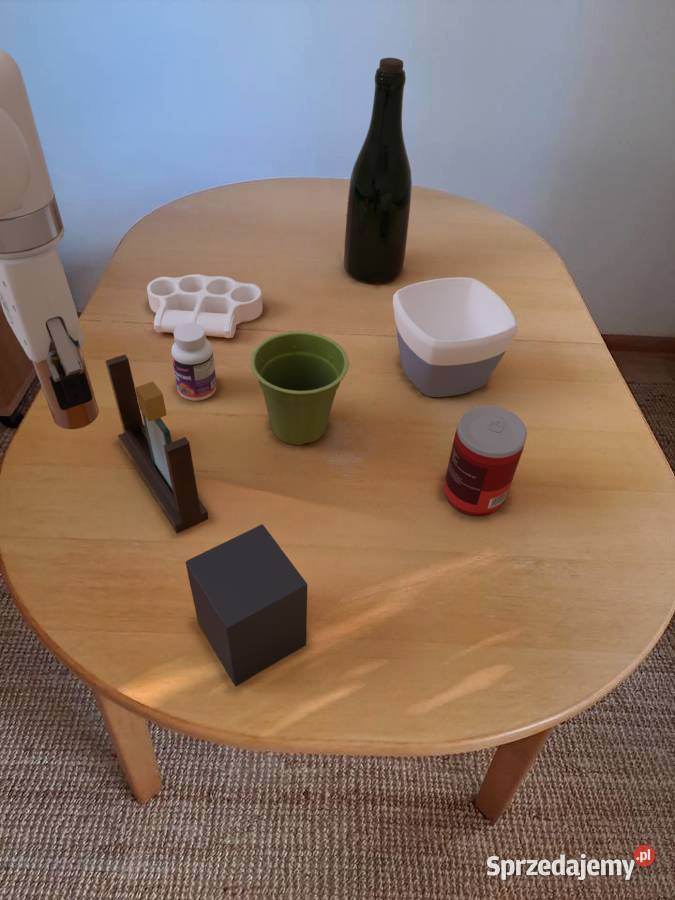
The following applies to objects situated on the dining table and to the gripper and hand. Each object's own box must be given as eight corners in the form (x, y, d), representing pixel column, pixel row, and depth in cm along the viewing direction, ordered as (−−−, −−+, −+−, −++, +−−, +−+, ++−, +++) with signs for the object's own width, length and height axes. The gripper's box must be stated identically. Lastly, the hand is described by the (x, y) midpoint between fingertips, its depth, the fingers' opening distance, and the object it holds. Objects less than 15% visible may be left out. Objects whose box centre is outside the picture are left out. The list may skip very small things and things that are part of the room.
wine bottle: (407, 260, 120) (434, 53, 96) (396, 290, 113) (422, 75, 89) (351, 250, 122) (363, 45, 98) (336, 280, 114) (346, 66, 91)
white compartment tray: (134, 336, 101) (160, 283, 111) (253, 345, 101) (267, 292, 111) (130, 317, 99) (157, 265, 109) (252, 327, 98) (267, 274, 108)
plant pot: (250, 458, 84) (245, 390, 76) (258, 396, 93) (255, 328, 85) (344, 461, 85) (349, 394, 77) (344, 399, 93) (348, 332, 85)
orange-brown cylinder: (61, 435, 69) (37, 366, 62) (47, 409, 71) (22, 340, 65) (105, 419, 70) (85, 350, 64) (90, 394, 73) (69, 326, 67)
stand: (235, 687, 64) (226, 628, 56) (198, 623, 68) (184, 561, 60) (306, 645, 67) (308, 584, 59) (266, 587, 71) (262, 523, 64)
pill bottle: (170, 387, 93) (159, 329, 86) (202, 371, 96) (195, 314, 89) (191, 407, 91) (183, 349, 84) (224, 390, 93) (218, 333, 86)
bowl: (464, 333, 105) (478, 270, 97) (514, 394, 95) (534, 330, 87) (374, 350, 101) (380, 285, 93) (416, 416, 91) (428, 350, 83)
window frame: (176, 534, 76) (159, 454, 66) (119, 443, 85) (98, 362, 76) (209, 519, 77) (196, 439, 68) (149, 432, 87) (131, 351, 78)
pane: (172, 504, 76) (153, 413, 66) (147, 466, 80) (126, 375, 70) (188, 496, 77) (172, 406, 67) (163, 459, 81) (144, 369, 71)
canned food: (508, 476, 84) (530, 412, 76) (501, 525, 79) (524, 460, 71) (448, 463, 85) (463, 398, 77) (437, 509, 80) (452, 444, 72)
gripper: (-61, 189, 58) (5, 356, 71) (-7, 281, 49) (58, 454, 62) (27, 171, 61) (75, 334, 74) (93, 254, 52) (135, 424, 65)
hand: (67, 387), depth 68 cm, fingers closed on orange-brown cylinder, 4 cm apart
